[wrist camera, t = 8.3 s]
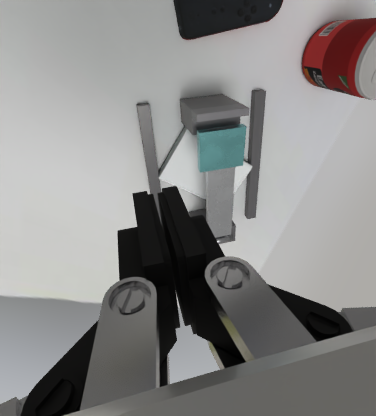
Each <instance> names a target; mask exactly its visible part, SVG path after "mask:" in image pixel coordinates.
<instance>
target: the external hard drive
mask: <svg viewBox="0 0 376 416" xmlns="http://www.w3.org/2000/svg"><path fill="white" fill-rule="evenodd" d="M251 169H252V165H250V164H249V163H248V162H246V161H243V166H237V167H235V180H234V193H235V192H236V190H237V189H238V187H239V186H240V185H241V183H242V182H243V180H244V179H245V177H246V176H247V175H248V173H249V172H250V171H251ZM158 174H159V176H158V178H159V179H161V180H163V181H165V182H167V183H170V184H172V185H174V186H177V187H179V188H181V189H183V190H186V191H188V192H190V193H192V194H194V195H197V196H199V197H201V198H204V199H206V172H201V173H200V171H199V170H198V151H197V135H192V134H191V133H190V131H189V130H188V129H187V128H186V127H184V129H183V130H182V132H181V134H180V135H179V137H178V139H177V141H176V142H175V144H174V146H173V148H172V150H171V151H170V153H169V155H168V156H167V158H166V160H165V162H164V164H163V165H162V167H161V169H160V170H159V172H158Z"/></svg>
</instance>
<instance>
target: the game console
mask: <svg viewBox="0 0 376 416" xmlns="http://www.w3.org/2000/svg"><path fill="white" fill-rule="evenodd" d="M282 3H283V0H174V6H175V11H176V17H177V22H178V27H179V33H180V35H181V37H182V38H183V39H186V40H191V39H196V38H200V37H204V36H208V35H213V34H217V33H221V32H225V31H229V30H233V29H238V28H242V27H246V26H250V25H255V24H259V23H263V22H267V21H269V20H271V19H272V18H273V17H274V16H275V15H276V14H277V13H278V11H279V10H280V8H281V5H282Z"/></svg>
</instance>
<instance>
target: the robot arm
mask: <svg viewBox="0 0 376 416" xmlns="http://www.w3.org/2000/svg"><path fill="white" fill-rule="evenodd" d="M157 195H158V202H159V209H160V216H161V221H160V217H159V213H158V210H157V206H156V203H155V199H154V195H153V194H149V195H148V194H147V191H144V192H138V193H133V200H134V207H135V214H136V220H137V227H134V228H129V229H124V230H118V255H119V278H120V281H118V282H116V283H115V284H114V285H113V286H111V287H110V288H109V289H108V291H107V292H106V293H105V296H104V298H103V302H102V306H101V311H100V316H99V320H98V321H97V322H96V323H95V324H94V325H93V326H92V327H91V328H90V329H89V330H88V331H87V332H86V333H85V334H84V335H83V337H82V338H81V339H80V340H79V341H78V342H77V343H76V344H75V345H74V346H73V347H72V348H71V349H70V350H69V351H68V352H67V353H66V354H65V355H64V356H63V357H62V358H61V359H60V360H59V361H58V362H57V363H56V365H55V366H54V367H53V368H52V369H51V370H50V371H49V372H48V373H47V374H46V375H45V376H44V377H43V378H42V379H41V380H40V381H39V382H38V383H37V384H36V386H35V387H34V388H33V389H32V391H31V392H30V393H29V395H28V396H26V397H24V398H22V399H20V400H18V399H17V397H15V398H13V399H11V400H9V401H7V402H4V403H2V404H0V416H376V307H365V308H363V307H362V308H342V310H341V312H337V311H335V310H333V309H331V308H329V307H327V306H325V305H322V304H319V303H317V302H314V301H311V300H309V299H305V298H303V297H300V296H298V295H295V294H292V293H290V292H287V291H284V290H281V289H279V288H276V287H274V286H270V285H268V284H267V283H266V282H265V281H264V280H263V279H262V278H261V276H260V275H259V274H258V273H257V272H256V270H255V269H254V268H253V267H252V266H251V265H250V264H249V263H248V262H247V261H245V260H242V259H240V258H237V257H225V255H224V254H223V252H222V250H221V248H220V246H219V244H218V242H217V240H216V238H215V236H214V234H213V233H212V231H211V229H210V227H209V225H208V223H207V221H206V219H205V217H204V216H203V215H197V216H192V217H190V216H189V213H188V211H187V209H186V207H185V204H184V202H183V200H182V198H181V195H180V193H179V191H178V189H177V187H176V186H173V187H168V188H162V192H160V193H157ZM161 223H162V224H161ZM175 290H176V291H175ZM176 294H177V297H178V301H179V305H180V309H181V313H182V317H183V321H184V324H185V326H187V325H191V327H192V331H193V334H197V335H198V336H200V337H202V338H204V339H206V340H207V341H208V345H209V348H210V350H211V352H212V354H213V356H214V358H215V360H216V362H217V364H218V366H219V368H220V370H218V371H214V372H211V373H207V374H204V375H200V376H197V377H194V378H190V379H187V380H183V381H180V382H177V383H173V384H170V381H169V358H168V353H169V352H170V350H171V349H172V347H173V346H174V344H175V343H176V341H177V338H176V330H175V329H176V328H180V322H179V314H178V306H177V299H176Z"/></svg>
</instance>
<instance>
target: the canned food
mask: <svg viewBox="0 0 376 416" xmlns="http://www.w3.org/2000/svg"><path fill="white" fill-rule="evenodd" d="M302 69H303V73H304V75H305V77H306V79H307V80H308V81H309V82H310V83H311V84H313V85H314V86H318V87H322V88H326V89H330V90H333V91H337V92H341V93H345V94H349V95H353V96H357V97H361V98H366V99H370V100H371V99H372V100H376V18H369V19H354V20H340V21H334V22H331V23H329V24H327V25H325V26H323V27H322V28H320V29H319V30H318V31H317V32H316V33H315V34H314V35H313V36H312V37H311V39H310V40H309V42H308V44H307V46H306V48H305V51H304V54H303V59H302Z"/></svg>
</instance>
